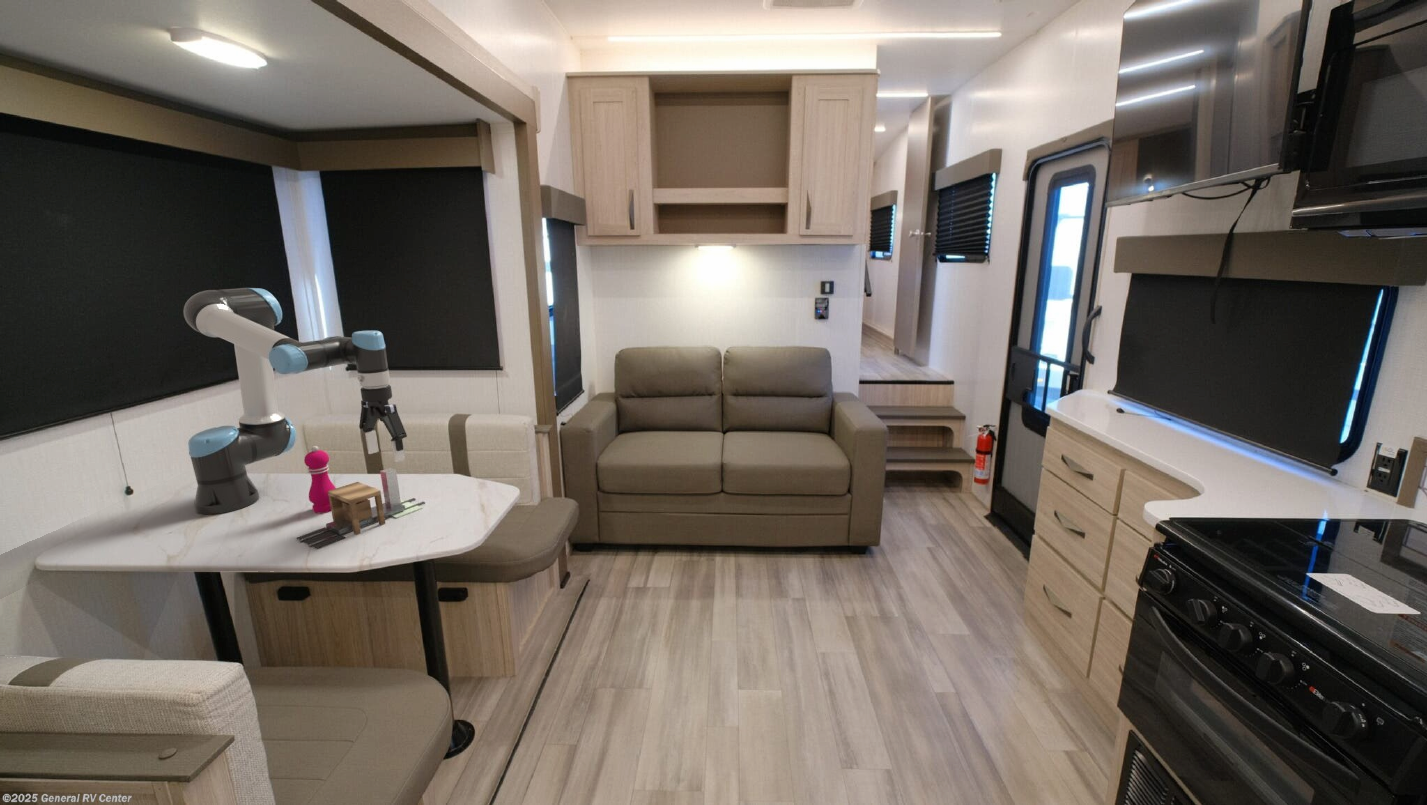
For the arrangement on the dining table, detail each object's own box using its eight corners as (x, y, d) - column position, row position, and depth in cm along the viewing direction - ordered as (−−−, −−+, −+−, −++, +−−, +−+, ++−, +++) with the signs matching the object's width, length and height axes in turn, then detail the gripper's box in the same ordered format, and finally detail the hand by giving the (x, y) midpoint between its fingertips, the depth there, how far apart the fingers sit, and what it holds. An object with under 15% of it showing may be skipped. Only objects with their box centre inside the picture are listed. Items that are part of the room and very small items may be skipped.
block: (344, 518, 161) (341, 502, 160) (362, 512, 165) (360, 496, 164) (354, 523, 158) (351, 506, 157) (372, 516, 162) (369, 500, 161)
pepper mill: (325, 515, 168) (314, 451, 163) (305, 512, 169) (292, 449, 164) (345, 504, 174) (335, 443, 169) (325, 502, 176) (314, 441, 171)
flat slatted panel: (297, 538, 154) (296, 537, 154) (325, 528, 160) (324, 527, 160) (317, 549, 148) (317, 548, 148) (345, 538, 154) (345, 537, 154)
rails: (299, 541, 152) (299, 539, 152) (414, 499, 179) (413, 497, 178) (310, 547, 149) (310, 545, 149) (425, 503, 176) (424, 502, 175)
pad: (375, 509, 171) (375, 508, 171) (401, 500, 178) (401, 499, 178) (396, 518, 166) (396, 517, 166) (422, 508, 172) (422, 507, 172)
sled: (326, 528, 158) (318, 487, 155) (392, 504, 173) (386, 466, 170) (339, 534, 154) (332, 492, 151) (405, 509, 170) (399, 471, 167)
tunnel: (333, 524, 162) (327, 491, 159) (362, 513, 169) (357, 481, 166) (356, 534, 156) (350, 500, 153) (385, 523, 162) (380, 490, 160)
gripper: (338, 383, 164) (350, 452, 169) (387, 393, 151) (398, 468, 157) (365, 378, 170) (375, 445, 175) (414, 388, 158) (423, 460, 163)
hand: (386, 456), depth 166 cm, fingers open, 13 cm apart
